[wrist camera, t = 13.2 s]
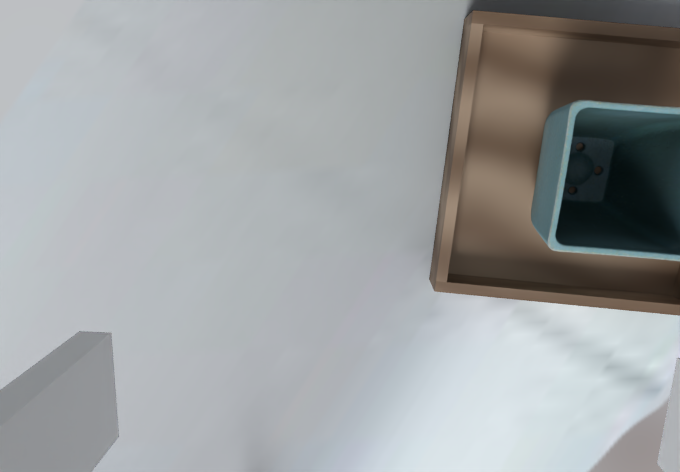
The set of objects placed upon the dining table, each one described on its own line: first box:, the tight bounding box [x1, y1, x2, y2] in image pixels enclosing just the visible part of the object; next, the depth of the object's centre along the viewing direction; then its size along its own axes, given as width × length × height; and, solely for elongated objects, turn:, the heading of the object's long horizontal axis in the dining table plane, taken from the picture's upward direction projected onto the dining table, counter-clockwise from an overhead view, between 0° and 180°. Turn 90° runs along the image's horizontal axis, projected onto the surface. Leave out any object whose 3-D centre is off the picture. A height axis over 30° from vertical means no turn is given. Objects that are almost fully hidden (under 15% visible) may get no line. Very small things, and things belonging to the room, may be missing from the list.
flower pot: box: [531, 100, 680, 261], centre depth 33 cm, size 9×9×9 cm
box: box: [429, 10, 680, 315], centre depth 37 cm, size 20×20×3 cm
